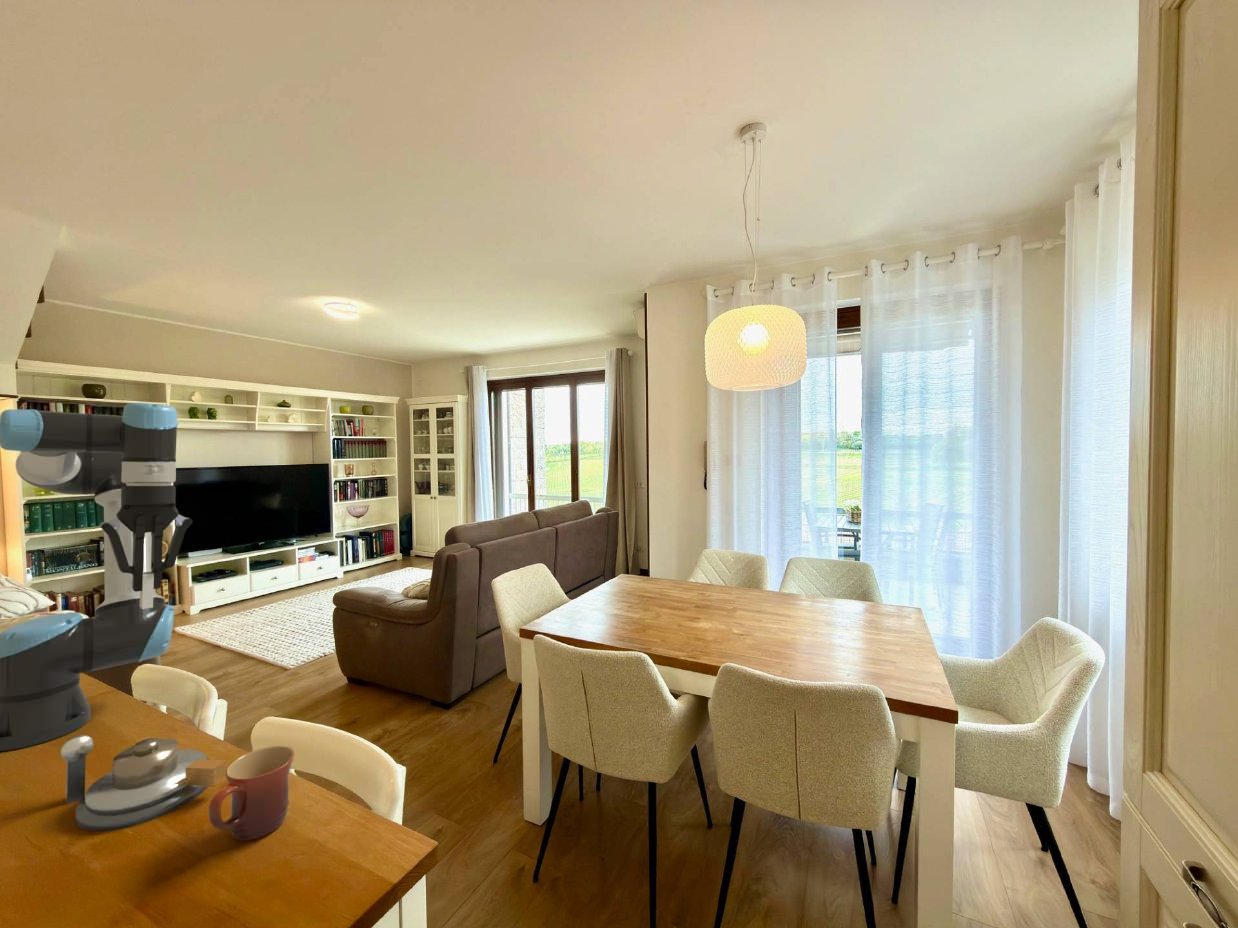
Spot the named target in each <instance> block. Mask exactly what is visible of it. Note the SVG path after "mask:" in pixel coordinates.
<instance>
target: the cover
mask: <svg viewBox="0 0 1238 928" xmlns="http://www.w3.org/2000/svg"><path fill="white" fill-rule="evenodd" d="M178 745H179V743H178V740H176V739H174V738H170V737H169V738H168V737H167V738H164V737H163V738H158V737H150V738H146V739H143V740H140V741H138V742H137V743H135V744H134V745H133V746H130V747H128V748H126V749H124V750H122V751H120V752H119V753H118V754H117V755H115V756H114V757H113V759H112V771H113V777H112V786H113V788H115V789H117V790H129V789H135V788H140V787H143V786H146V785H149V784H152V783H154V782H157V781H159V780H161V779H163V778H165V777H166V776H168V775H169V774H171V773H172V772H173V771H174V770H175V769H176V767H177V750H179V749H178Z"/></svg>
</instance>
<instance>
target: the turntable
mask: <svg viewBox="0 0 1238 928" xmlns="http://www.w3.org/2000/svg"><path fill="white" fill-rule="evenodd" d="M207 758H208V757H207V755H206V753H204V752H203V751H200V750H198V749H197V750H196V749H178V750H177V767H176V769H175V770H174V771H173V772H172V773H171V774H169V775H168V776H166V777H165V778H163V779H161V780H159V781H157V782H154V783H152V784H149V785H146V786H143V787H140V788H135V789H129V790H117V789H115V788H113V786H112V777H113V770H112V771H110V772H107V773H105V774H104V775H103V776H101V777H100V778H98V779H96V780H95V782H93V783H92V784H91V785H90V786H89V787H88V789H87V790H86V791H85V808H86V810H87V811H88V812H90V813H93V814H98V815H112V814H120V813H126V812H131V811H135V810H138V809H142V808H145V807H148V806H151V805H154V804H157V803H159V802H162V801H164V800H166V799H168V798H171V797H173V796H175V795H177V794H179V793H180V792H182V791H184V790H185V789H187V788H189V787H190V786H208V788H209V787H211V788H214V787H215V786H216V785H218V784H220V783H221V782H222V781H224V779H227V777H226V770H227V760H226V759H210V760H207Z"/></svg>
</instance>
